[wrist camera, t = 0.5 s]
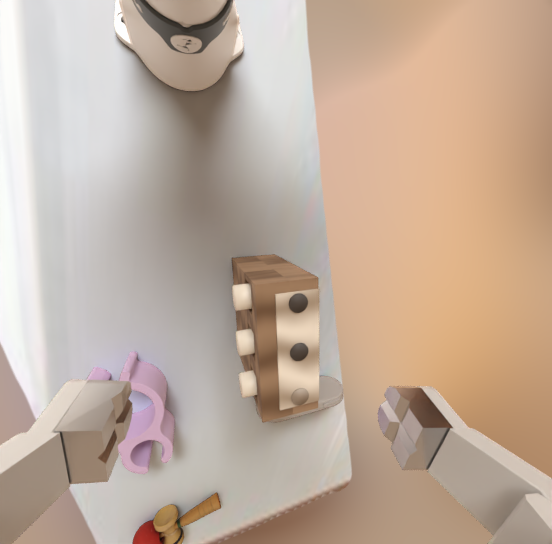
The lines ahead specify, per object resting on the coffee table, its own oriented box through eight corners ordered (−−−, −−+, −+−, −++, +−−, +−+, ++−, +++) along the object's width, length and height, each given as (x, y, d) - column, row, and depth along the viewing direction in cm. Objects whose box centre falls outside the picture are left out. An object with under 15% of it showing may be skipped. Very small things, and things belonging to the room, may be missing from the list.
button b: (238, 368, 43) (242, 381, 40) (262, 363, 44) (268, 376, 41) (239, 388, 44) (243, 403, 40) (263, 383, 45) (269, 397, 41)
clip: (190, 423, 57) (190, 450, 51) (129, 453, 55) (121, 485, 48) (147, 344, 51) (141, 364, 45) (77, 374, 49) (60, 399, 42)
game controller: (252, 401, 61) (262, 429, 53) (252, 392, 60) (261, 419, 52) (332, 380, 66) (350, 403, 58) (331, 372, 65) (351, 394, 58)
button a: (231, 282, 40) (235, 289, 36) (258, 279, 41) (264, 285, 37) (233, 305, 40) (237, 314, 37) (259, 302, 42) (265, 310, 38)
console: (231, 258, 52) (255, 286, 33) (274, 254, 55) (319, 278, 35) (238, 352, 57) (263, 425, 38) (277, 345, 59) (319, 410, 40)
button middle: (234, 327, 41) (238, 337, 38) (260, 323, 42) (266, 332, 39) (236, 348, 42) (240, 360, 39) (261, 344, 43) (267, 355, 40)
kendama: (211, 474, 63) (126, 523, 56) (218, 503, 58) (126, 560, 51) (218, 492, 66) (138, 540, 60) (225, 521, 61) (140, 577, 55)
